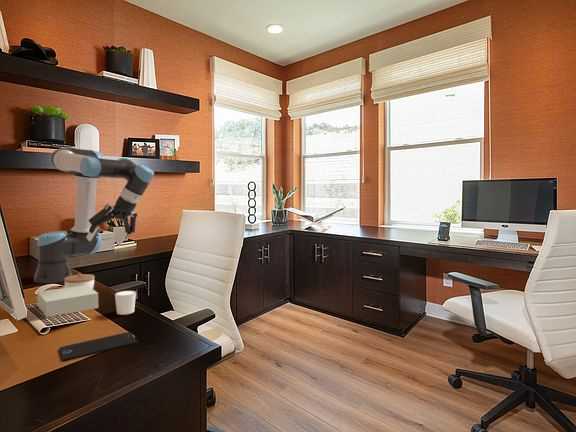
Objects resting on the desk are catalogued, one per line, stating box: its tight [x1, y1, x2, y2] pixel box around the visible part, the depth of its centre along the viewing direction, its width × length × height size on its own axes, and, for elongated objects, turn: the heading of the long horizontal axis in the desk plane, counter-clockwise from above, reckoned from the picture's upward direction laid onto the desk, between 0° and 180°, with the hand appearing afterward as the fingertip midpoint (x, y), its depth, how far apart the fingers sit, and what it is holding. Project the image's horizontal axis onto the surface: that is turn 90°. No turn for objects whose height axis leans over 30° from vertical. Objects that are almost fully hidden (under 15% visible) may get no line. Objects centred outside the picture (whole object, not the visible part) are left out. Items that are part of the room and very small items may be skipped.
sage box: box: [37, 285, 99, 318], centre depth 125 cm, size 16×16×6 cm
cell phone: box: [59, 331, 138, 362], centre depth 94 cm, size 9×18×1 cm, turn 129°
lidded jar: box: [63, 272, 95, 290], centre depth 140 cm, size 11×11×9 cm
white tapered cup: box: [114, 290, 137, 316], centre depth 121 cm, size 7×7×7 cm
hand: (103, 241), depth 143 cm, fingers open, 13 cm apart
